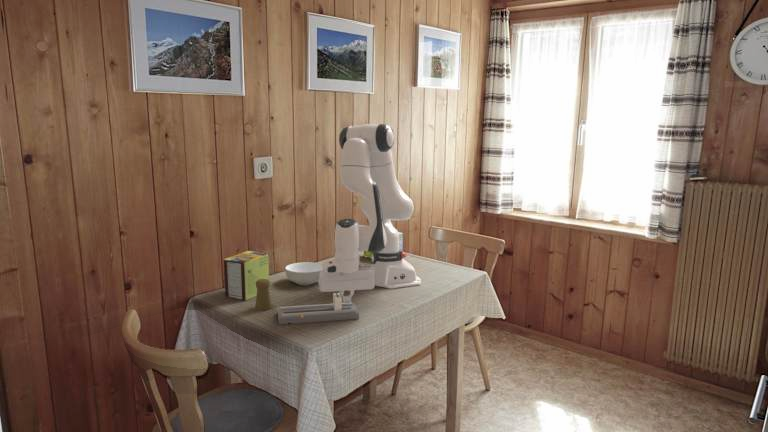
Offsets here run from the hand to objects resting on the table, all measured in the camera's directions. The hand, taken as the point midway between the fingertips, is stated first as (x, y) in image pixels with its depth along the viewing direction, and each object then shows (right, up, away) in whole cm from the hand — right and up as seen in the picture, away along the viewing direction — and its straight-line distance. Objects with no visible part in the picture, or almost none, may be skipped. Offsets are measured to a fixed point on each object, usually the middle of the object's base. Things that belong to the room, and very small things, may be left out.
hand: (346, 301), depth 196 cm
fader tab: (-3, -2, 0) cm, 4 cm away
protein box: (-41, 0, +22) cm, 47 cm away
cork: (-31, -3, +6) cm, 32 cm away
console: (-10, -5, -1) cm, 12 cm away
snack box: (+13, +9, +75) cm, 76 cm away
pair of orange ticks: (-16, -3, -3) cm, 17 cm away
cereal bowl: (-20, +2, +37) cm, 42 cm away
